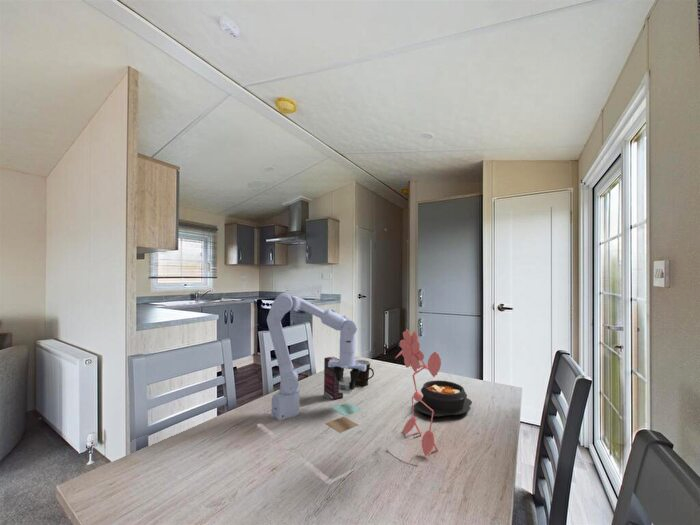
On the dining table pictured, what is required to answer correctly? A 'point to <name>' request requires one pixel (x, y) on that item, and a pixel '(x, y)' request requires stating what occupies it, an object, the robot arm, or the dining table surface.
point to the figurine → (413, 357)
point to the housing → (345, 385)
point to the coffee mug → (363, 374)
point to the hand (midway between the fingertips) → (346, 388)
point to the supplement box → (331, 381)
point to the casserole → (443, 399)
